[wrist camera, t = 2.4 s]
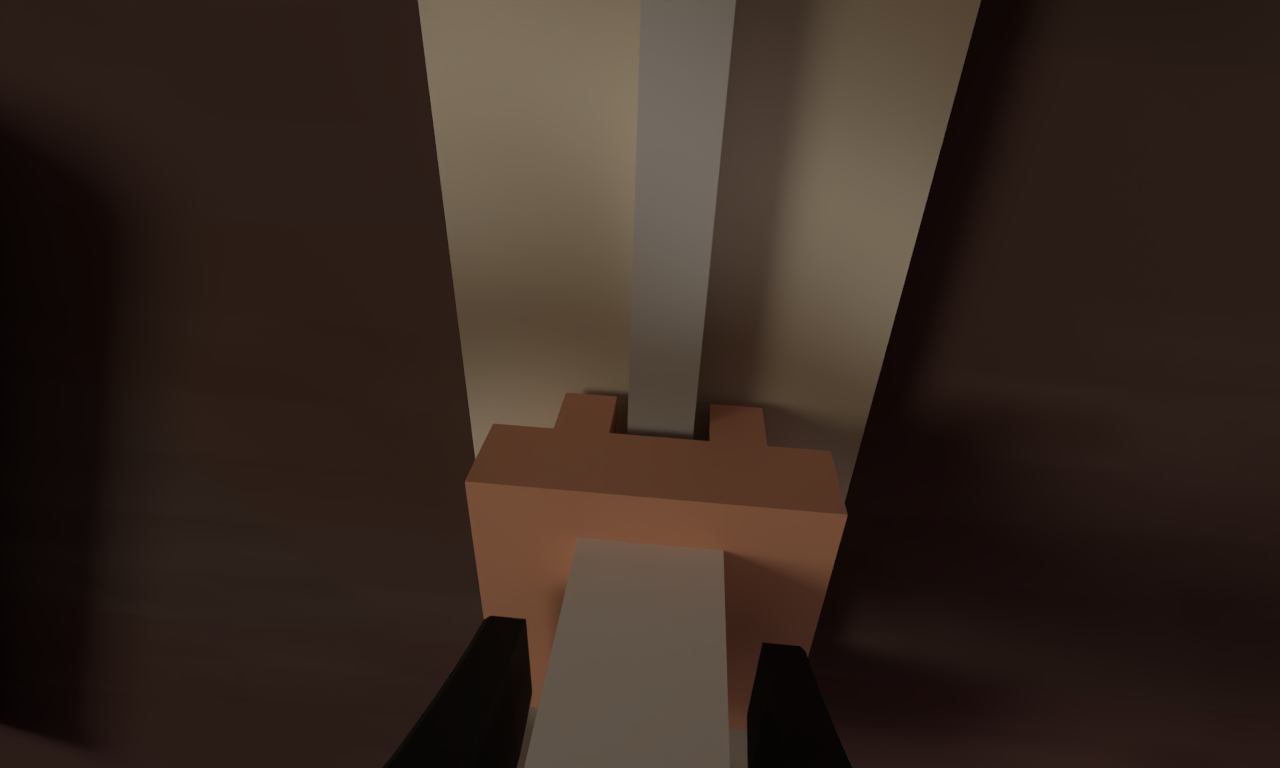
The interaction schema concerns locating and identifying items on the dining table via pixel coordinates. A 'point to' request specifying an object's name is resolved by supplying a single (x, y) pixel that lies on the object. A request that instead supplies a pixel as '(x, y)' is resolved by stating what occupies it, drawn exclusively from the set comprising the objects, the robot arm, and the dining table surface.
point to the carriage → (649, 575)
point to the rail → (686, 205)
